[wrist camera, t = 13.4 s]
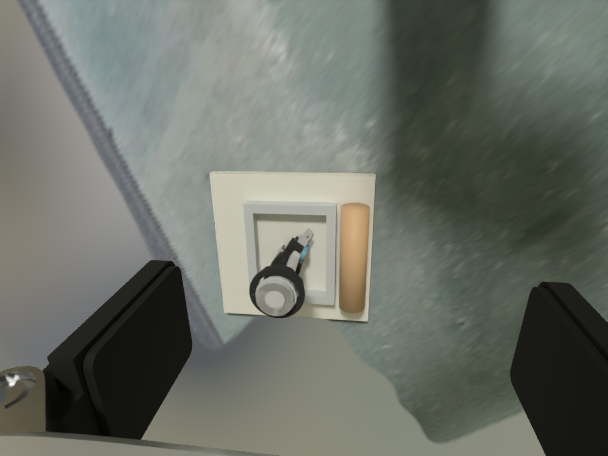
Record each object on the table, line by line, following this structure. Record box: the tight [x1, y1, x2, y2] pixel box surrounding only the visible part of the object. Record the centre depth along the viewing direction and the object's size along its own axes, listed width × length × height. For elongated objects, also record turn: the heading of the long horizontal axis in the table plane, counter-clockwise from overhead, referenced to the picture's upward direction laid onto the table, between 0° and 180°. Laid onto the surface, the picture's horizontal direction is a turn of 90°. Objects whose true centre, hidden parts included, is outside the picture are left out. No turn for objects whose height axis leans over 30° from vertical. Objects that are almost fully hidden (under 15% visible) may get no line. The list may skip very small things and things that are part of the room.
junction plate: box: [210, 171, 376, 321], centre depth 43 cm, size 18×18×4 cm
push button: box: [249, 228, 313, 318], centre depth 40 cm, size 7×5×10 cm
